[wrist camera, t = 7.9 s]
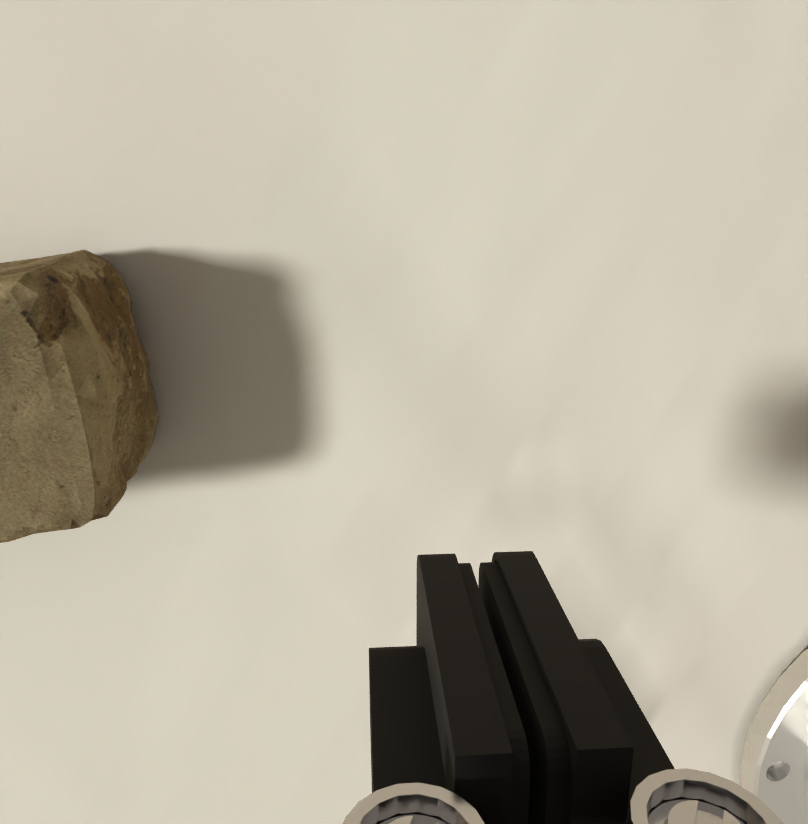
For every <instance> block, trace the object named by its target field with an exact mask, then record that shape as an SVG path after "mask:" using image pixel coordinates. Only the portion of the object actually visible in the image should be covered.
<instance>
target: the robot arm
mask: <svg viewBox="0 0 808 824" xmlns="http://www.w3.org/2000/svg"><path fill="white" fill-rule="evenodd" d="M369 679H370V728H371V768H372V794H370V795H369V796H367V797H366V798H364V799H362V800H361V801H359V802H358V803H357V805H356V806H355V807H354V808H353V809H352V810H351V812H350V813H349V814H348V815H347V816H346V818H345V820H344V822H343V824H808V648H807V649H806V650H805V651H804V652H802V653H801V654H800V655H799V656H798V658H797V659H796V660H795V661H794V662H793V663H792V664H791V665H790V666H789V667H788V668H787V669H786V670H785V672H784V673H783V674H782V675H781V676H780V677H779V678H778V679H777V681H776V682H775V684H774V685H773V687H772V688H771V690H770V691H769V693H768V694H767V696H766V697H765V699H764V700H763V702H762V703H761V705H760V707H759V709H758V711H757V713H756V715H755V718H754V720H753V722H752V724H751V726H750V729H749V731H748V733H747V737H746V741H745V745H744V749H743V754H742V758H741V781H740V786H739V785H738V784H736V783H735V782H733V781H730V780H728V779H725V778H722V777H720V776H717V775H715V774H712V773H709V772H703V771H698V770H692V769H674V767H673V765H672V763H671V762H670V760H669V758H668V756H667V755H666V753H665V751H664V749H663V748H662V746H661V744H660V742H659V741H658V739H657V737H656V735H655V734H654V732H653V730H652V728H651V726H650V725H649V723H648V721H647V719H646V718H645V716H644V714H643V712H642V711H641V709H640V707H639V705H638V704H637V702H636V700H635V698H634V697H633V695H632V693H631V691H630V690H629V688H628V686H627V684H626V683H625V681H624V679H623V677H622V676H621V674H620V672H619V670H618V668H617V667H616V665H615V663H614V661H613V660H612V658H611V656H610V654H609V653H608V651H607V649H606V647H605V646H604V645H603V643H602V642H601V641H600V640H597V639H579V640H578V638H577V636H576V634H575V632H574V630H573V628H572V626H571V624H570V622H569V620H568V619H567V617H566V615H565V613H564V611H563V609H562V607H561V605H560V603H559V601H558V599H557V597H556V595H555V593H554V591H553V589H552V588H551V586H550V584H549V582H548V580H547V578H546V576H545V574H544V572H543V570H542V568H541V566H540V564H539V562H538V560H537V558H536V557H535V555H534V553H533V552H532V551H524V552H494V554H493V558H492V562H488V563H481V564H480V567H479V588H478V585H477V582H476V579H475V576H474V573H473V570H472V567H471V564H470V563H459V564H458V561H457V557H456V555H455V554H433V555H418V557H417V646H407V647H382V648H369Z"/></svg>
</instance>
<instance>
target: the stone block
mask: <svg viewBox="0 0 808 824" xmlns="http://www.w3.org/2000/svg"><path fill="white" fill-rule="evenodd" d="M131 313H132V302H131V299H130V295H129V292H128V290H127V288H126V285H125V283H124V281H123V278H122V276H121V274H120V273H119V272H118V271H117V270H116V269H115V268H114V267H113V266H112V265H111V264H110V263H109V262H108V261H107V260H105V259H103V258H101V257H99V256H97V255H95V254H93V253H91V252H89V251H86V250H80V251H76V252H72V253H67V254H60V255H54V256H48V257H42V258H36V259H28V260H21V261H14V262H6V263H0V543H2V542H9V541H12V540H15V539H19V538H22V537H25V536H28V535H31V534H35V533H42V532H49V531H57V530H66V529H73V528H79V527H81V526H83V525H85V524H86V523H88V522H90V521H91V520H95V519H99V518H103V517H106V516H108V515H109V514H110V512H111V511H112V510H113V508H114V507H115V506H116V504H117V503H118V502H119V501H120V499H121V498H122V496H123V495H124V493H125V491H126V488H127V481H128V480H129V479H130V478H132V477H133V475H134V474H135V473H136V472H137V468H138V465H139V464H140V463H141V462H142V460H143V459H144V458H145V456H146V454H147V453H148V451H149V449H150V447H151V445H152V442H153V438H154V434H155V431H156V426H157V422H158V417H159V416H158V411H157V406H156V401H155V398H154V393H153V389H152V384H151V381H150V378H149V375H148V373H149V361H148V358H147V355H146V353H145V350H144V348H143V346H142V344H141V342H140V340H139V338H138V335H137V331H136V327H135V323H134V318H133V316H132V314H131Z"/></svg>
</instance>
